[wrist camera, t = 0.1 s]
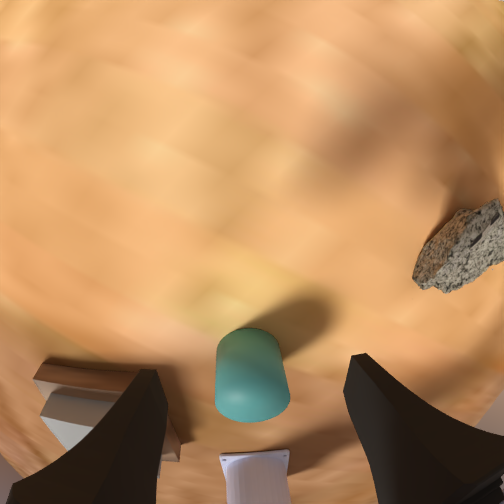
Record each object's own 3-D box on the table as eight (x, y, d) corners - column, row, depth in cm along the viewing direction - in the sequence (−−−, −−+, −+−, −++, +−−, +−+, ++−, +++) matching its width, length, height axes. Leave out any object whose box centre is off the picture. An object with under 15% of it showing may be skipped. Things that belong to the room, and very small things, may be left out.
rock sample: (558, 211, 9) (534, 302, 14) (499, 147, 14) (499, 235, 19) (406, 263, 13) (417, 343, 18) (378, 184, 19) (400, 266, 24)
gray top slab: (162, 455, 24) (159, 478, 21) (87, 444, 23) (80, 465, 21) (136, 404, 20) (129, 432, 18) (50, 392, 20) (39, 415, 17)
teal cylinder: (278, 371, 23) (288, 419, 18) (219, 375, 23) (219, 424, 18) (280, 325, 21) (292, 373, 16) (213, 329, 21) (210, 379, 16)
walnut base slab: (181, 440, 27) (179, 461, 24) (88, 430, 27) (82, 449, 24) (153, 367, 23) (147, 393, 20) (44, 359, 22) (32, 379, 19)
